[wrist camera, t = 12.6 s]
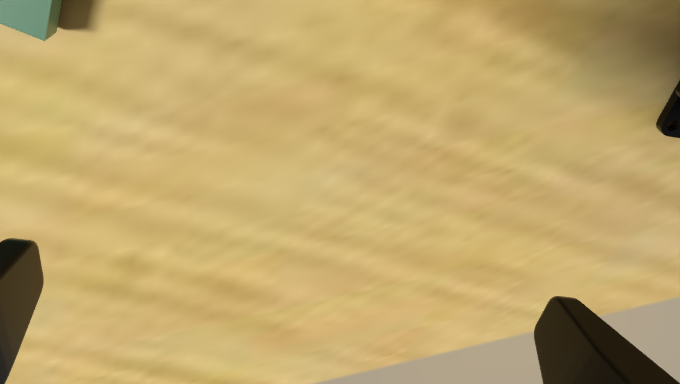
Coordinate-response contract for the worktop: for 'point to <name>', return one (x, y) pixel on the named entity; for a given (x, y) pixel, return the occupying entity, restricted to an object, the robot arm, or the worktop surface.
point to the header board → (31, 16)
